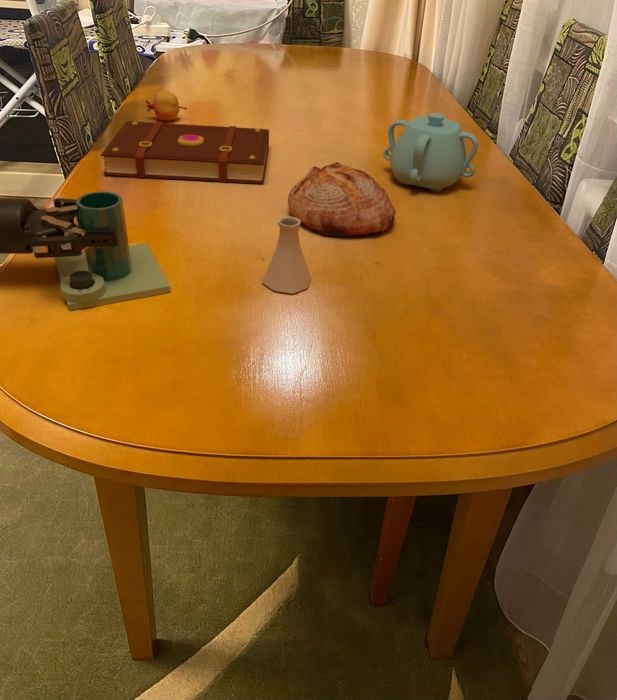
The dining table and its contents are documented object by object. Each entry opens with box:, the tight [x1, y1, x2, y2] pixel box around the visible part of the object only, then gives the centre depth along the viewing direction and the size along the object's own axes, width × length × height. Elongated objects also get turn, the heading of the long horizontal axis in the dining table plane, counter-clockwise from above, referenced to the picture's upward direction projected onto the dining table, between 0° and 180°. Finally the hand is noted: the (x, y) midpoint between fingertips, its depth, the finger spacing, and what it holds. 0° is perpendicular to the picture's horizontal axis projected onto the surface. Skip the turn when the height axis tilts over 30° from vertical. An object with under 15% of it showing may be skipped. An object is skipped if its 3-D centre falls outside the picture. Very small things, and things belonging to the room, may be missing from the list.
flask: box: [261, 215, 312, 295], centre depth 89 cm, size 7×7×10 cm
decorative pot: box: [383, 112, 479, 192], centre depth 124 cm, size 16×16×14 cm
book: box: [100, 120, 270, 185], centre depth 127 cm, size 23×32×5 cm
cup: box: [76, 190, 131, 281], centre depth 86 cm, size 6×6×11 cm
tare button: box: [70, 271, 93, 290], centre depth 83 cm, size 3×3×2 cm
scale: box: [53, 242, 172, 312], centre depth 89 cm, size 14×14×2 cm
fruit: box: [144, 89, 188, 122], centre depth 148 cm, size 7×7×10 cm
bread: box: [287, 161, 396, 237], centre depth 108 cm, size 16×20×10 cm
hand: (120, 227), depth 85 cm, fingers closed on cup, 6 cm apart
